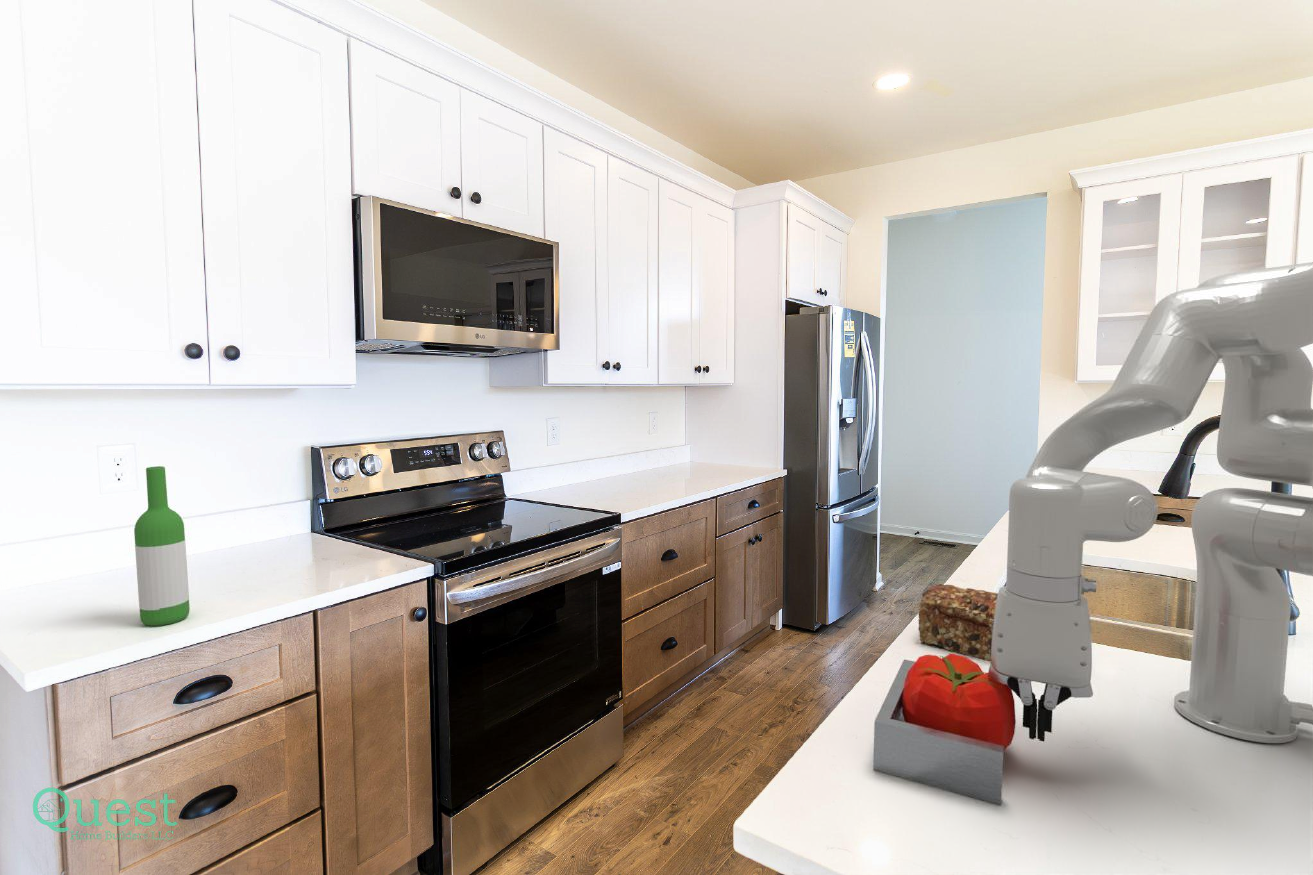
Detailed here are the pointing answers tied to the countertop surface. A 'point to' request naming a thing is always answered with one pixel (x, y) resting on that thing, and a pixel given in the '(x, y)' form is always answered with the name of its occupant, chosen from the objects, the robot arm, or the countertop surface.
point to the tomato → (958, 699)
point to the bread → (958, 619)
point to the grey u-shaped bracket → (934, 752)
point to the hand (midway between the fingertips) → (1036, 734)
